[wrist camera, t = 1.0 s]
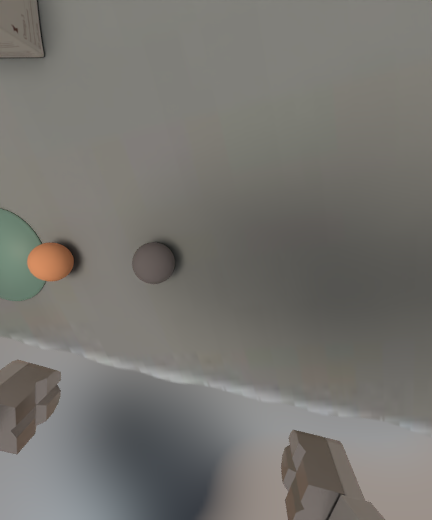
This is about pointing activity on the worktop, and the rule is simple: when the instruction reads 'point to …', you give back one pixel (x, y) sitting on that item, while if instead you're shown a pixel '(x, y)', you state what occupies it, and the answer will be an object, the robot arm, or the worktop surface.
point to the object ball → (50, 261)
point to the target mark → (17, 258)
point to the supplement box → (20, 29)
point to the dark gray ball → (153, 263)
